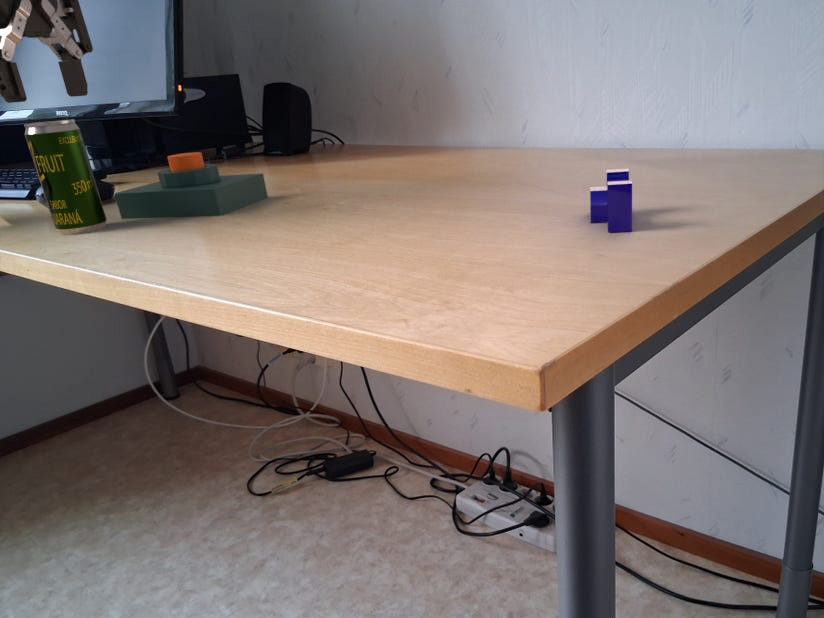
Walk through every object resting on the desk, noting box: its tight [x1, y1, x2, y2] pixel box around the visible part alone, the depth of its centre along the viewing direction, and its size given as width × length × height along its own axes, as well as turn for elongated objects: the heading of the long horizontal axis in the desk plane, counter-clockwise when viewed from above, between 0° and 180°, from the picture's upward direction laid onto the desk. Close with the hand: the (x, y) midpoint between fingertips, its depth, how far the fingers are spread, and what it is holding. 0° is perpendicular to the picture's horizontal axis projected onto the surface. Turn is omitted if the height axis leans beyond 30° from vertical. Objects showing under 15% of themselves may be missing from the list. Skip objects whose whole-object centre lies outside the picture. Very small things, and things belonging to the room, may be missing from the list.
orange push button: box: [166, 151, 205, 171], centre depth 86 cm, size 4×4×2 cm
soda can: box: [23, 118, 108, 236], centre depth 78 cm, size 5×5×12 cm
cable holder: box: [589, 168, 633, 233], centre depth 62 cm, size 8×4×4 cm, turn 171°
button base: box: [114, 163, 269, 220], centre depth 88 cm, size 14×11×5 cm
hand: (48, 99), depth 75 cm, fingers open, 8 cm apart
